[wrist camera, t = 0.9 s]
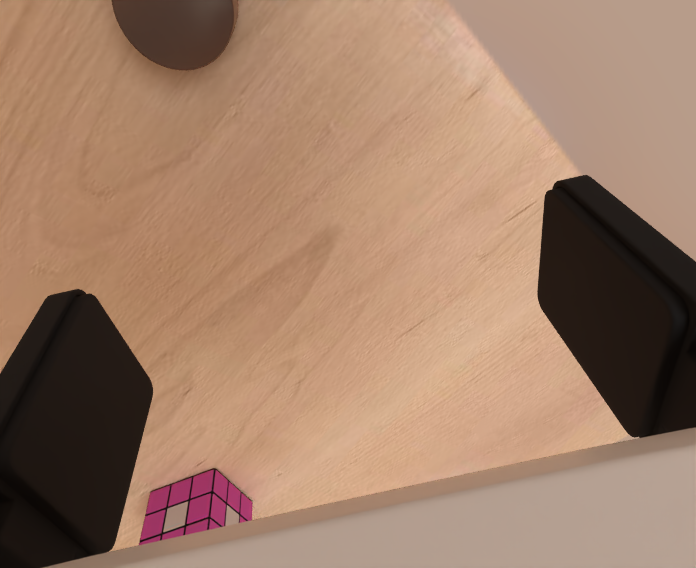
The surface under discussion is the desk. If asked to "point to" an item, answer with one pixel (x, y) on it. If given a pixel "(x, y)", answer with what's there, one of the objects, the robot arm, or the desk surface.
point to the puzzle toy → (194, 507)
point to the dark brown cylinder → (178, 29)
